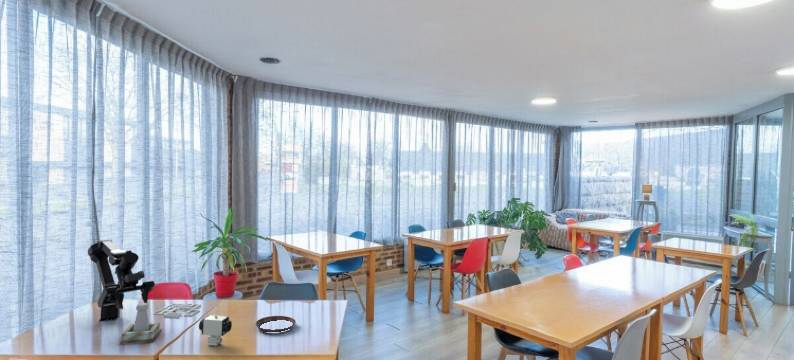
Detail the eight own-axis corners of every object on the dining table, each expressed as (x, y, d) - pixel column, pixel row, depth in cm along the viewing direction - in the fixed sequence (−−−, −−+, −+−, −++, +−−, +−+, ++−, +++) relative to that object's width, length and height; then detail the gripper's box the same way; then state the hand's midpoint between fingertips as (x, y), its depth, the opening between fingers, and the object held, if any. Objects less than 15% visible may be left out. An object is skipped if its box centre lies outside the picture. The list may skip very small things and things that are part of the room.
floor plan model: (199, 320, 193) (199, 316, 193) (148, 317, 194) (148, 313, 194) (218, 308, 211) (218, 304, 211) (172, 305, 213) (172, 301, 213)
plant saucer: (302, 329, 187) (303, 322, 187) (267, 339, 174) (268, 332, 174) (282, 319, 199) (282, 313, 199) (248, 327, 186) (248, 321, 186)
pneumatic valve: (225, 347, 163) (227, 318, 163) (197, 345, 163) (199, 316, 163) (232, 342, 168) (233, 313, 168) (204, 340, 169) (206, 311, 169)
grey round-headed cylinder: (142, 331, 173) (144, 300, 173) (152, 333, 171) (153, 302, 171) (129, 335, 167) (130, 304, 168) (139, 338, 165) (140, 306, 165)
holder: (119, 344, 161) (119, 334, 161) (129, 333, 173) (129, 323, 173) (153, 341, 165) (153, 332, 165) (160, 331, 176) (161, 322, 177)
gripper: (106, 268, 169) (115, 300, 162) (154, 262, 184) (164, 291, 177) (98, 283, 173) (107, 315, 167) (145, 276, 189) (155, 305, 182)
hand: (134, 306), depth 173 cm, fingers open, 9 cm apart
